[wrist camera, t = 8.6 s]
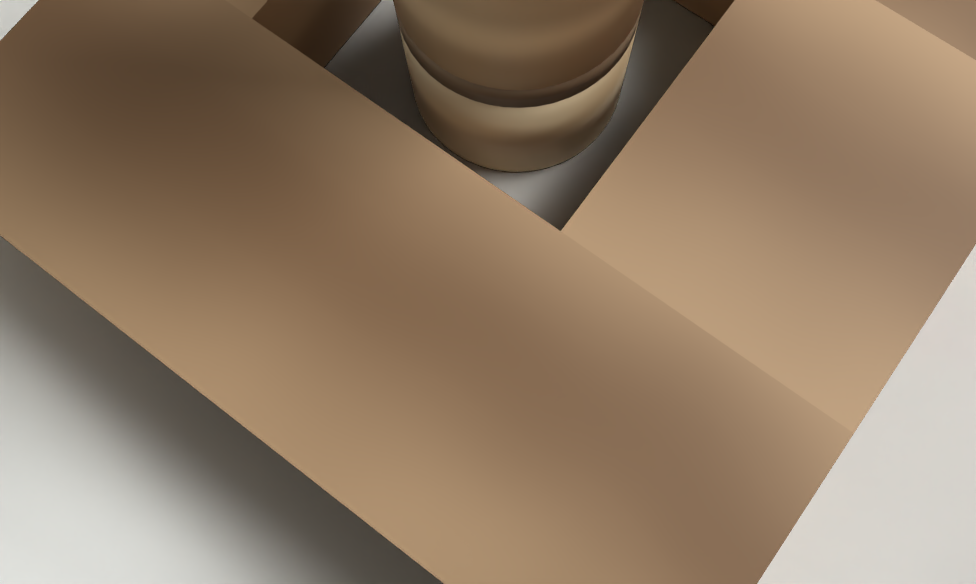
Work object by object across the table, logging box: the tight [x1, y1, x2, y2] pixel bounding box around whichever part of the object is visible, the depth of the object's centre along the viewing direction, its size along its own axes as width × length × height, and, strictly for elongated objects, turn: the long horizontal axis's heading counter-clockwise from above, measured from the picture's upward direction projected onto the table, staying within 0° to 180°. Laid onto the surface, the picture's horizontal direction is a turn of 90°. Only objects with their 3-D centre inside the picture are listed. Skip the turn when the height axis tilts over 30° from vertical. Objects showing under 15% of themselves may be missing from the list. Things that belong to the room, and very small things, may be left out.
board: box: [0, 0, 976, 584], centre depth 16 cm, size 12×14×3 cm
